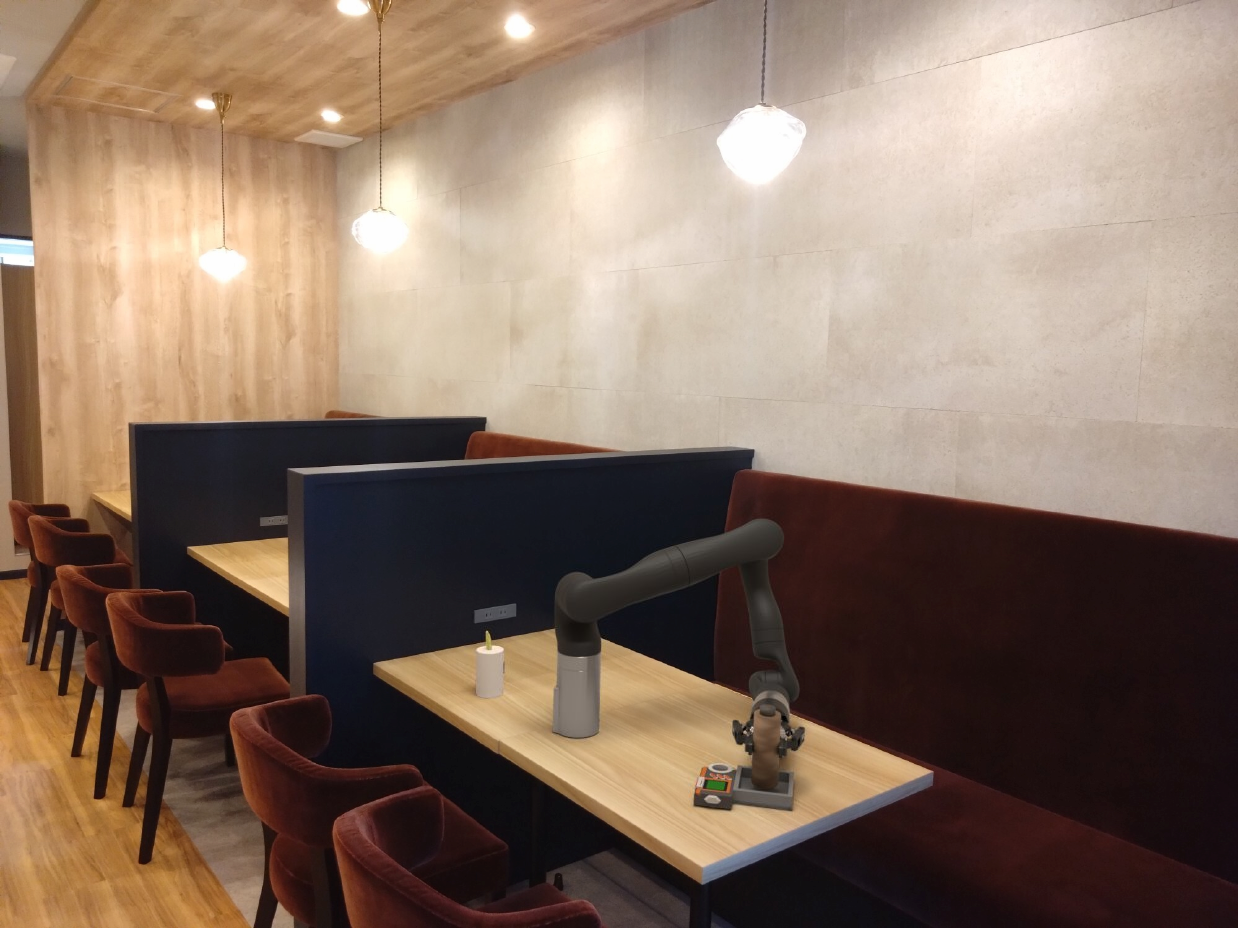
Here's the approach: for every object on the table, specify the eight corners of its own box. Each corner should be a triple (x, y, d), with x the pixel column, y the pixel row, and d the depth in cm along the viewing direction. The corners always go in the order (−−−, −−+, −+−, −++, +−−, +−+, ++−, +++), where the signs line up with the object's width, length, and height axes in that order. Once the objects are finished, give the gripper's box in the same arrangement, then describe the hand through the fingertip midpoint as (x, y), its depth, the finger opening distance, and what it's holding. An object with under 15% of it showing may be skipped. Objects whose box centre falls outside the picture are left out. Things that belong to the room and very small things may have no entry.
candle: (504, 697, 209) (505, 634, 207) (476, 698, 208) (476, 635, 206) (503, 688, 215) (504, 626, 213) (475, 688, 214) (476, 627, 212)
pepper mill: (750, 786, 163) (753, 710, 161) (752, 774, 167) (755, 701, 166) (777, 789, 162) (780, 713, 160) (778, 777, 166) (781, 703, 165)
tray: (732, 803, 161) (733, 789, 160) (737, 777, 171) (737, 764, 171) (792, 810, 159) (792, 796, 158) (793, 784, 169) (793, 771, 168)
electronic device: (738, 763, 172) (731, 795, 157) (737, 778, 172) (730, 812, 158) (702, 759, 173) (692, 791, 159) (702, 774, 174) (692, 807, 159)
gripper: (734, 693, 179) (725, 727, 162) (808, 700, 176) (807, 735, 159) (732, 730, 180) (724, 767, 163) (806, 737, 177) (805, 776, 160)
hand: (765, 751), depth 161 cm, fingers closed on pepper mill, 4 cm apart
